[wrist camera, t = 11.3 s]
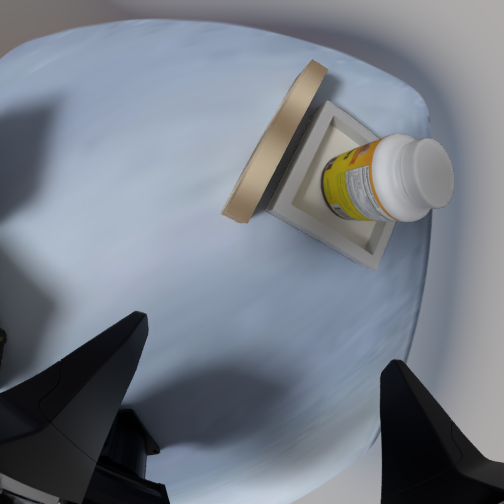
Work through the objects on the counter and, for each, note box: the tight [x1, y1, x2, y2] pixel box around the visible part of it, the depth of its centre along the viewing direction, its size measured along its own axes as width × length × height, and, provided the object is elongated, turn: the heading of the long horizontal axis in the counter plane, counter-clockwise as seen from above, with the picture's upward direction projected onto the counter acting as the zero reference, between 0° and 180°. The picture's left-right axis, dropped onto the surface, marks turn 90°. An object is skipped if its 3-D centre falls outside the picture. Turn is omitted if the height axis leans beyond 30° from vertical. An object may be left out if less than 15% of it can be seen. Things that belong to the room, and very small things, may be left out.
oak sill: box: [221, 59, 328, 223], centre depth 19 cm, size 14×2×4 cm, turn 153°
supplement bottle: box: [319, 134, 454, 222], centre depth 17 cm, size 6×6×10 cm
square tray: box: [265, 100, 396, 271], centre depth 21 cm, size 10×10×2 cm
